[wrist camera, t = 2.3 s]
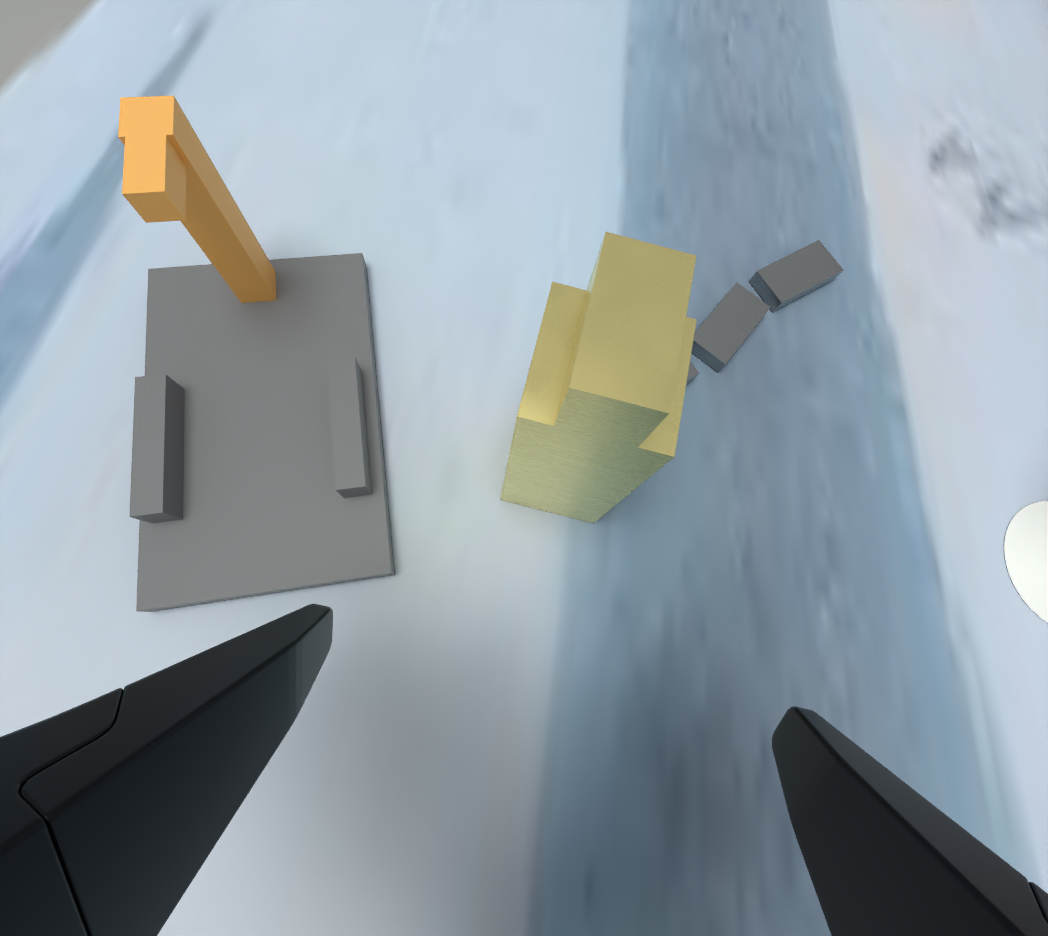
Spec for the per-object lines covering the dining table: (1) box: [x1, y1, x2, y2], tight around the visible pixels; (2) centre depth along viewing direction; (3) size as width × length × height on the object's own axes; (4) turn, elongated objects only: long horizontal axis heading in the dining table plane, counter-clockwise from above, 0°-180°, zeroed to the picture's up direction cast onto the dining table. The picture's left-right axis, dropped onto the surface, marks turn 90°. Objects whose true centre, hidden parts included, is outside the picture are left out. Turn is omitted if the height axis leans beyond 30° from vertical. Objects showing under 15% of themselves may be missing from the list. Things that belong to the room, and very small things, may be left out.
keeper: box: [118, 96, 395, 612], centre depth 20 cm, size 16×10×10 cm, turn 9°
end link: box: [500, 232, 697, 523], centre depth 19 cm, size 4×4×13 cm
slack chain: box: [686, 240, 843, 384], centre depth 28 cm, size 4×16×1 cm, turn 130°
